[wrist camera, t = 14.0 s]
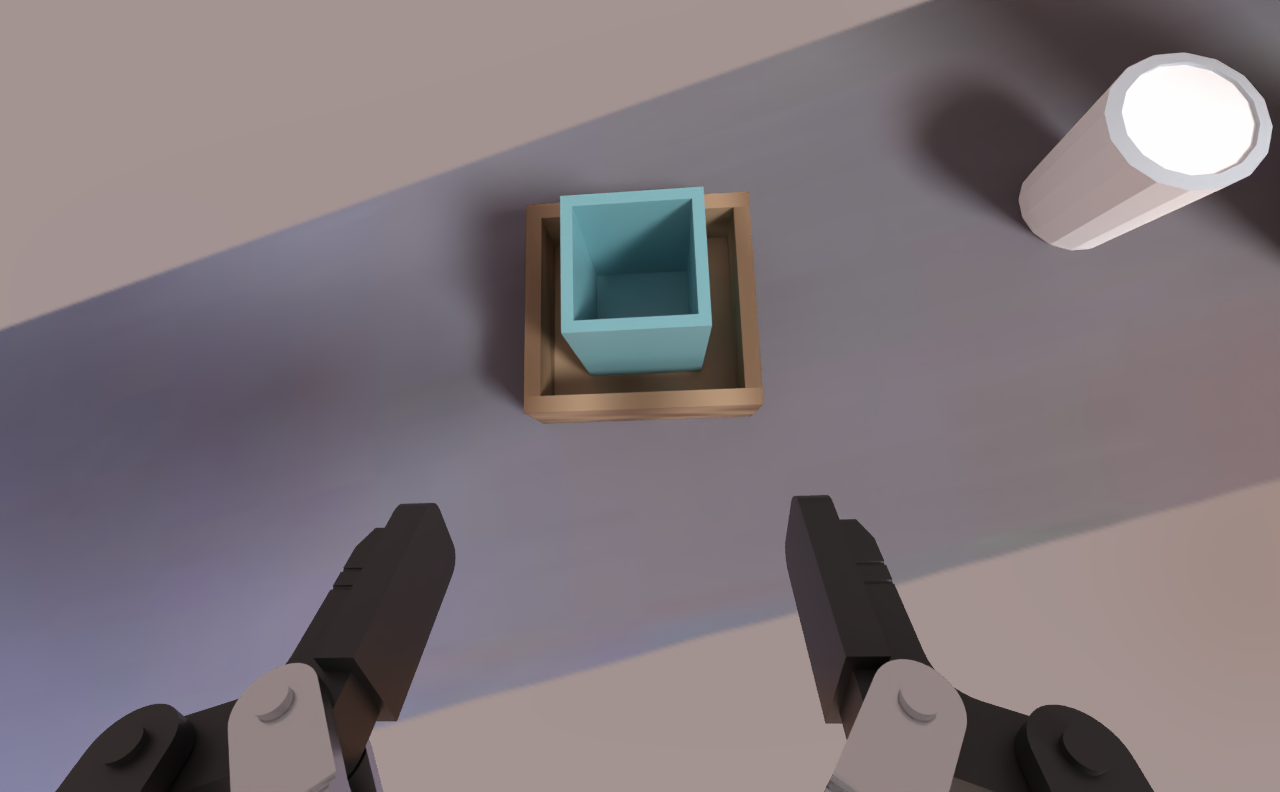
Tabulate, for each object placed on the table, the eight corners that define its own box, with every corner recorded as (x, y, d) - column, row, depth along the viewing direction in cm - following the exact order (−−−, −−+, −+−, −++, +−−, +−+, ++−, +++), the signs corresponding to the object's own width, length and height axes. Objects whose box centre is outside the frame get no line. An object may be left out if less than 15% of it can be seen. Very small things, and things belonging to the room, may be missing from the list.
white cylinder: (1136, 267, 29) (1281, 196, 22) (1005, 253, 29) (1107, 181, 22) (1133, 155, 30) (1271, 55, 23) (1008, 144, 31) (1106, 44, 24)
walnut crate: (738, 230, 31) (748, 191, 27) (751, 416, 29) (763, 404, 25) (544, 240, 31) (526, 204, 27) (543, 423, 29) (523, 412, 25)
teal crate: (695, 267, 29) (703, 186, 22) (701, 371, 28) (712, 325, 21) (589, 273, 30) (560, 195, 22) (591, 376, 29) (561, 333, 21)
